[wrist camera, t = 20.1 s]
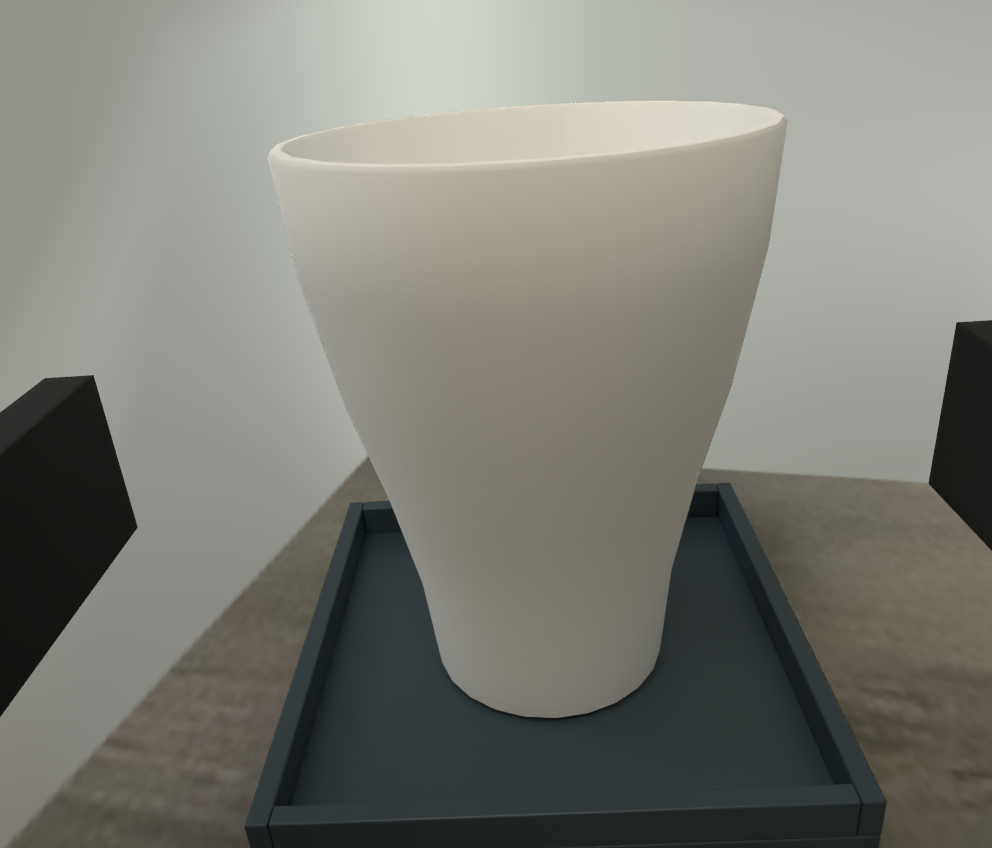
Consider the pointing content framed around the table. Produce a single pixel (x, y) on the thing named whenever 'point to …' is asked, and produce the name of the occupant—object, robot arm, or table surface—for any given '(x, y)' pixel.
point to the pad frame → (565, 722)
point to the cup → (537, 359)
